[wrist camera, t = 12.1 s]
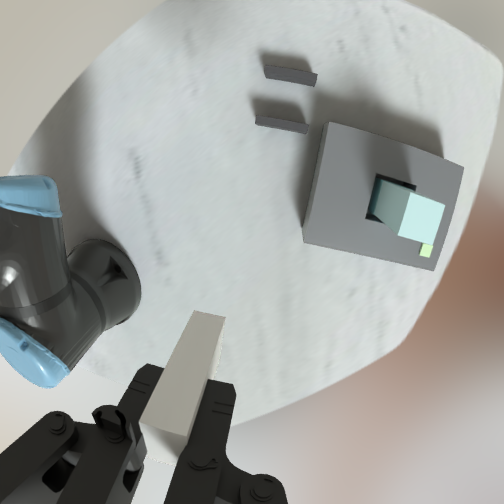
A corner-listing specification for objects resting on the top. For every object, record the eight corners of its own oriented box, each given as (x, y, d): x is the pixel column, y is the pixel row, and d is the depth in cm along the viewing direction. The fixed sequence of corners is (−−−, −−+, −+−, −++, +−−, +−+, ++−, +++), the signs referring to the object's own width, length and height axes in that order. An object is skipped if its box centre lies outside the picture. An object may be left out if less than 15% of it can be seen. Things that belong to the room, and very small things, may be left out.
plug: (364, 207, 34) (397, 235, 23) (372, 176, 33) (410, 191, 22) (392, 215, 34) (432, 246, 23) (400, 185, 33) (445, 204, 21)
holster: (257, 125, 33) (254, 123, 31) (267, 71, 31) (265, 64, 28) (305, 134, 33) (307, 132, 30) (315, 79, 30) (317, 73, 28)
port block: (302, 230, 37) (303, 243, 33) (323, 124, 32) (329, 121, 27) (419, 257, 37) (434, 272, 32) (445, 163, 31) (465, 167, 26)
